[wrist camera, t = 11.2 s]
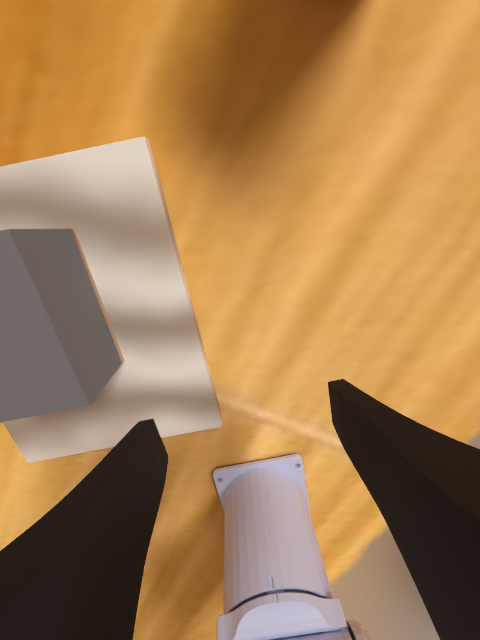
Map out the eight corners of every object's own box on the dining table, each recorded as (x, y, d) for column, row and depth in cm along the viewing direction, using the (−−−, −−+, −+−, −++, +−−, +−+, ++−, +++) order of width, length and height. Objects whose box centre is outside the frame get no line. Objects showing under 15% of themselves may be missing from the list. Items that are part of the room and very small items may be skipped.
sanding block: (124, 360, 19) (89, 405, 14) (56, 373, 19) (-2, 422, 14) (74, 228, 16) (8, 228, 11) (-7, 244, 16) (-107, 252, 11)
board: (222, 418, 22) (221, 426, 21) (36, 453, 22) (27, 463, 21) (149, 141, 15) (144, 136, 14) (-114, 197, 16) (-137, 195, 15)
